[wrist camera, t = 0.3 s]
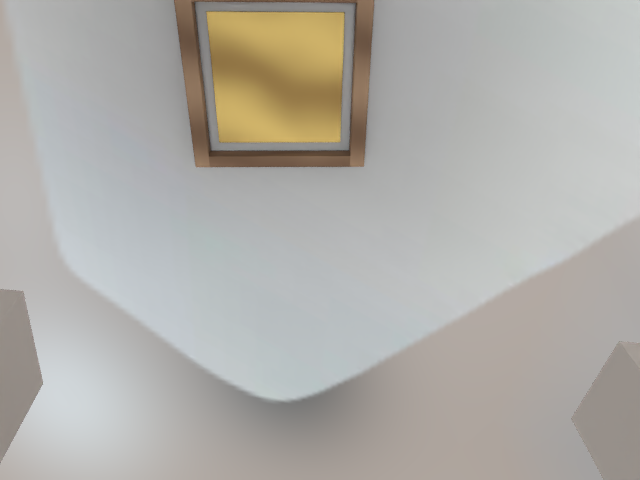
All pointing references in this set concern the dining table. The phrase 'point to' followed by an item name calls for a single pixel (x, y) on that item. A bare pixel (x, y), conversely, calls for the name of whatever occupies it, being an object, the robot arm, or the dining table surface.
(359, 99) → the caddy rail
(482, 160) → the dining table surface
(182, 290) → the dining table surface
